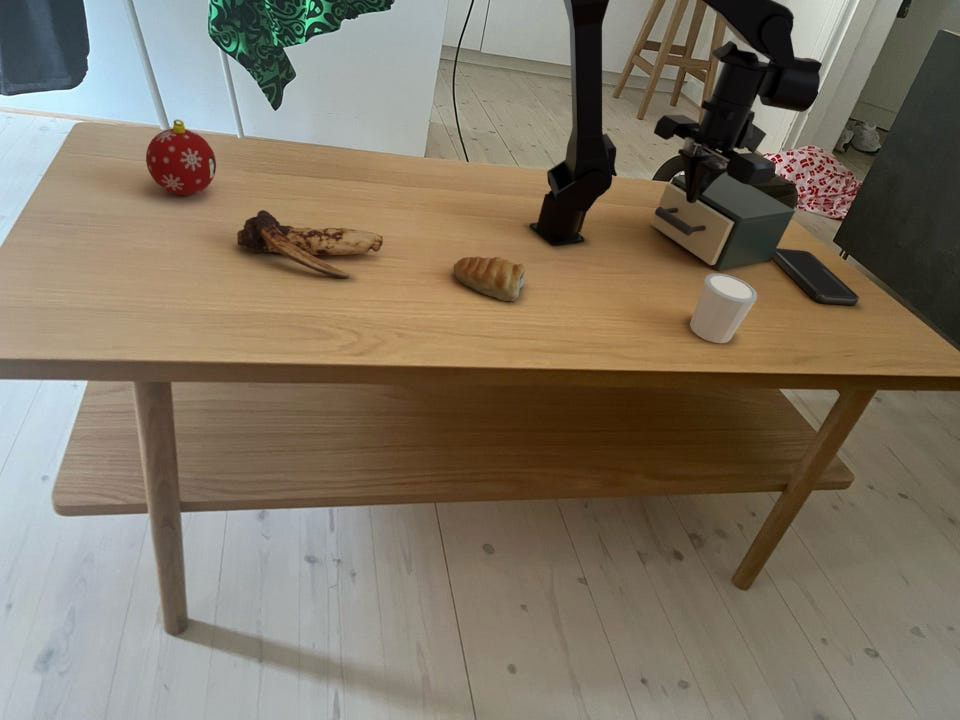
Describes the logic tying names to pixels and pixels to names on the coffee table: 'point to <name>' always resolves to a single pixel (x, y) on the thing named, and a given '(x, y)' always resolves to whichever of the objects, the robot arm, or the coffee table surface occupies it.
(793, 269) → the phone
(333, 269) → the bone fish hook
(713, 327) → the white cylinder
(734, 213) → the cabinet
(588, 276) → the coffee table surface
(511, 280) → the pastry
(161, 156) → the christmas ornament
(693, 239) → the drawer
